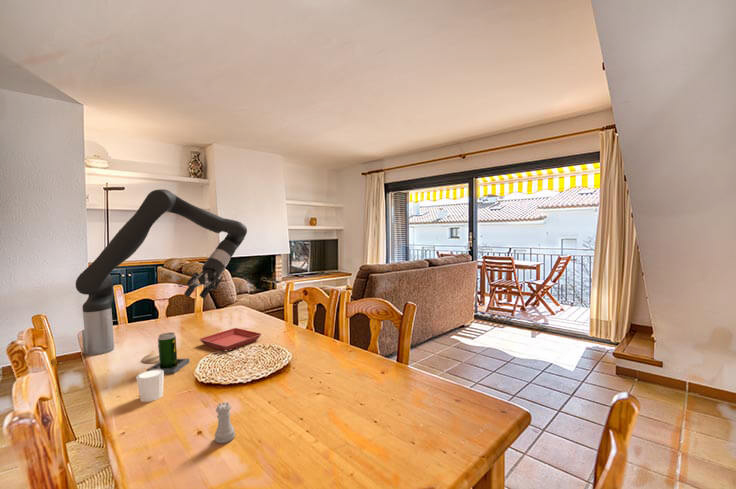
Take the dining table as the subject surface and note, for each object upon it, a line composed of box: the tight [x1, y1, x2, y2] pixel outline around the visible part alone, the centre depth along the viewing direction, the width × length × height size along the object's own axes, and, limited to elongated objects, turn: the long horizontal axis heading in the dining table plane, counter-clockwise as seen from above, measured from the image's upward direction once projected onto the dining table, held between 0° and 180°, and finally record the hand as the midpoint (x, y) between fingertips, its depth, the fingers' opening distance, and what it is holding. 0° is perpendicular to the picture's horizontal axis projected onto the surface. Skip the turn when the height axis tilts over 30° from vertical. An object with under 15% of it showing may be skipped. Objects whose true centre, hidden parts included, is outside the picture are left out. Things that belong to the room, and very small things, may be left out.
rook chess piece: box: [214, 401, 236, 444], centre depth 81 cm, size 4×4×8 cm
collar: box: [146, 358, 190, 375], centre depth 124 cm, size 10×10×2 cm
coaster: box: [141, 351, 160, 364], centre depth 134 cm, size 11×11×1 cm
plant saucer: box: [199, 327, 262, 351], centre depth 149 cm, size 18×18×3 cm
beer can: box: [157, 332, 178, 368], centre depth 124 cm, size 5×5×12 cm
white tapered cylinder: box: [135, 369, 165, 403], centre depth 102 cm, size 7×7×7 cm
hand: (193, 296), depth 133 cm, fingers open, 8 cm apart
